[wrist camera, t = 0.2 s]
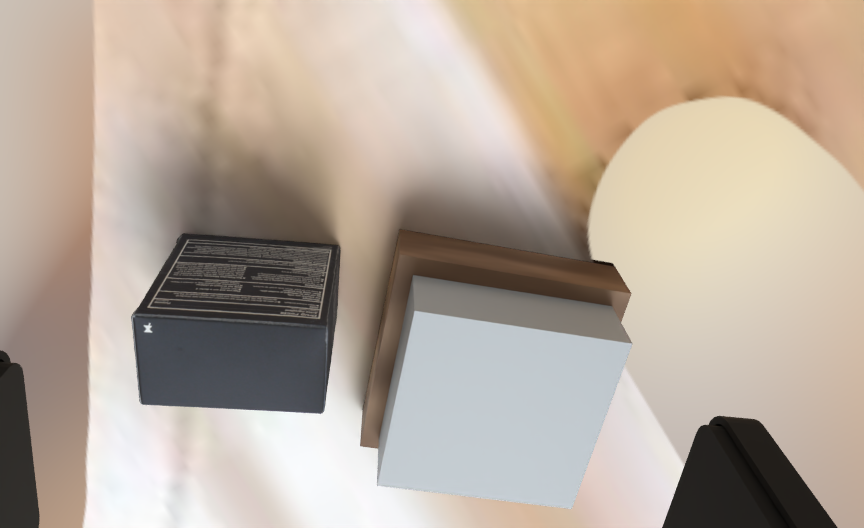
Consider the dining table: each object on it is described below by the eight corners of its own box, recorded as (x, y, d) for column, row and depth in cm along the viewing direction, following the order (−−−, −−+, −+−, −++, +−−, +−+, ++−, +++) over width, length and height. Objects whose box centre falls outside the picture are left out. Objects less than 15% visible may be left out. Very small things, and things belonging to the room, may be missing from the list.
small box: (184, 317, 50) (134, 411, 41) (179, 230, 48) (125, 310, 38) (337, 327, 51) (324, 421, 42) (342, 242, 49) (328, 323, 39)
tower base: (399, 226, 49) (399, 254, 45) (612, 262, 51) (631, 293, 47) (362, 406, 55) (360, 446, 51) (553, 433, 57) (565, 473, 53)
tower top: (412, 274, 45) (414, 310, 41) (612, 306, 47) (632, 343, 43) (378, 439, 51) (377, 485, 47) (558, 462, 52) (571, 508, 48)
